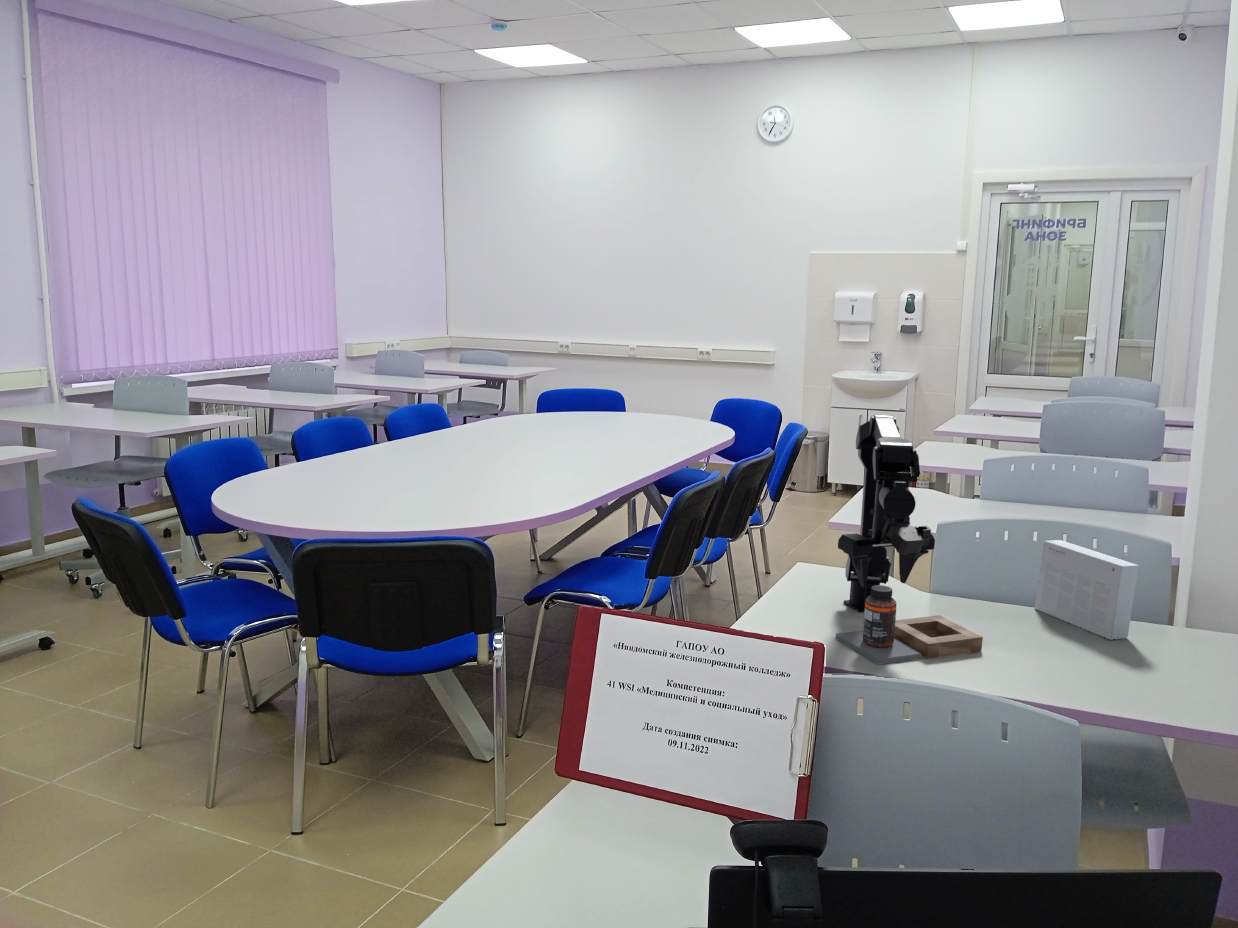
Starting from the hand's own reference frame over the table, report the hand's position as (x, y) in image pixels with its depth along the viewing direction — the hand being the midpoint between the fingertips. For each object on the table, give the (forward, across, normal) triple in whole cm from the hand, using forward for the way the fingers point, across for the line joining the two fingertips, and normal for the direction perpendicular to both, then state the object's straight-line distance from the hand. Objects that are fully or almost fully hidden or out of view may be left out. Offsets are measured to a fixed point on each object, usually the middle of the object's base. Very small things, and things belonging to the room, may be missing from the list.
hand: (883, 584), depth 190 cm
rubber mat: (+13, 0, 0) cm, 13 cm away
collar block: (+13, +12, -1) cm, 18 cm away
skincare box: (+13, +52, 0) cm, 53 cm away
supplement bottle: (+12, 0, 0) cm, 12 cm away
